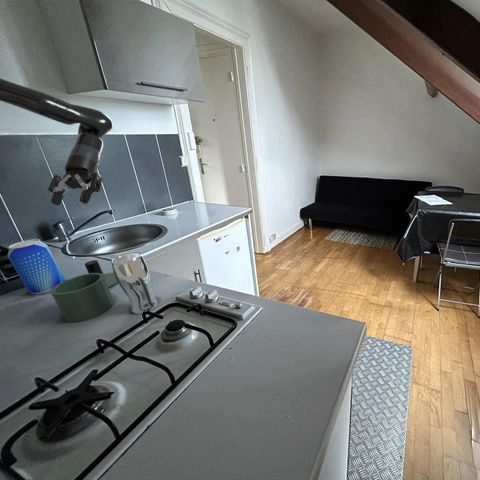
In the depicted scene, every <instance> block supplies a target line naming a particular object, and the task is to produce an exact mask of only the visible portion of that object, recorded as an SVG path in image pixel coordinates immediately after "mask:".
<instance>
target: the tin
mask: <svg viewBox="0 0 480 480" xmlns="http://www.w3.org/2000/svg"><path fill="white" fill-rule="evenodd" d="M103 274H104V273H103ZM103 274H100V273H84V274H81V275H77V276H74V277H70V278H68V279H65V281H63V282H62V283H60V284H58V285H56V286H55V287H54V288H53V289H52V291H50V292H51V293H50V294H51V295H52V297H53V299H54V301H55V302H56V305H57V306H58V308H59V310H60V312H61V313H62V316H63V317H64V319H65V320H66V321H67V322H69V323H80V322H85V321H88V320H90V319H94V318H96V317H98V316H100V315H102V314H104V313H105V312H107V311H108V310H110V309H111V308H112V307H113V306H114V305H115V300H114V297H113V295H112V292H111V290H110V287H108V285H107V283H106V281H105V278H104V276H103Z"/></svg>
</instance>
